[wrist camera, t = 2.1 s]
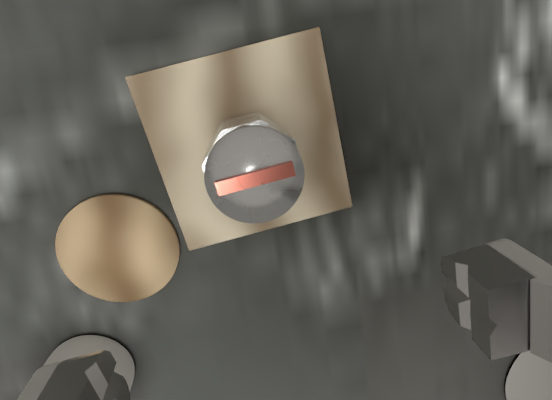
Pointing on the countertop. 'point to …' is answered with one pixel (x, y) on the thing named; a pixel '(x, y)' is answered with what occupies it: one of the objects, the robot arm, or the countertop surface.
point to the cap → (253, 169)
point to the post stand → (234, 103)
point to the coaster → (117, 247)
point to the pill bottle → (95, 344)
